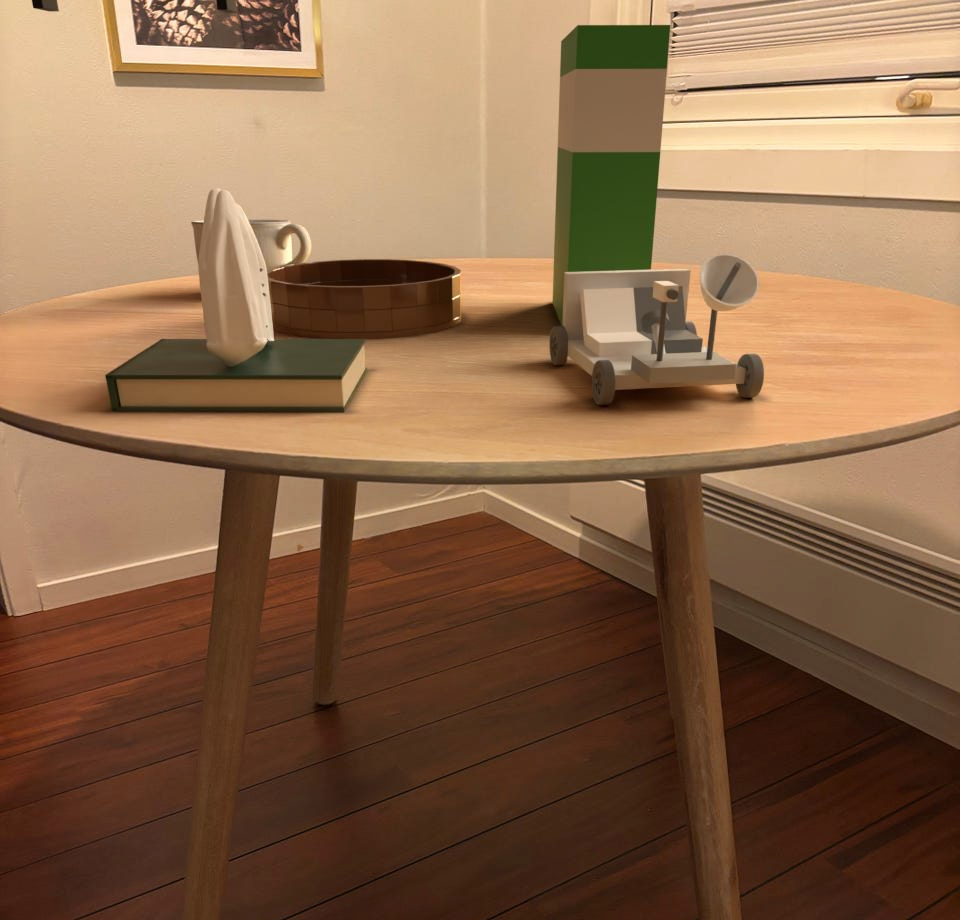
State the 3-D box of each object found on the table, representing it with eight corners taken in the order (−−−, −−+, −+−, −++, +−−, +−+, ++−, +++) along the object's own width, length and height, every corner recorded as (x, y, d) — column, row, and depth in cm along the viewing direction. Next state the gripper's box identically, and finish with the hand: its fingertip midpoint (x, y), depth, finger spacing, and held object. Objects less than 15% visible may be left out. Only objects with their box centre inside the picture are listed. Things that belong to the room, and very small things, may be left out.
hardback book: (552, 303, 102) (561, 41, 91) (620, 302, 102) (638, 41, 91) (565, 335, 87) (577, 25, 75) (645, 335, 87) (670, 24, 75)
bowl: (246, 339, 86) (240, 287, 84) (288, 303, 103) (284, 259, 101) (456, 339, 86) (456, 287, 83) (464, 303, 102) (464, 258, 100)
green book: (111, 411, 65) (104, 374, 64) (166, 371, 75) (161, 338, 74) (344, 412, 64) (341, 375, 63) (366, 371, 75) (364, 338, 74)
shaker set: (268, 373, 64) (248, 192, 58) (205, 376, 63) (178, 193, 58) (276, 338, 74) (260, 181, 69) (222, 339, 73) (201, 182, 68)
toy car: (801, 257, 59) (624, 261, 57) (778, 412, 64) (613, 420, 62) (694, 228, 75) (552, 231, 73) (682, 355, 80) (548, 360, 78)
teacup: (181, 296, 107) (170, 219, 103) (252, 284, 115) (244, 212, 111) (268, 308, 100) (259, 226, 96) (337, 294, 108) (332, 218, 104)
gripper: (-151, -420, 57) (-56, 4, 67) (261, -421, 56) (292, 7, 67) (-82, -365, 63) (-5, 13, 74) (288, -366, 63) (312, 16, 73)
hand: (136, 11), depth 70 cm, fingers open, 13 cm apart
